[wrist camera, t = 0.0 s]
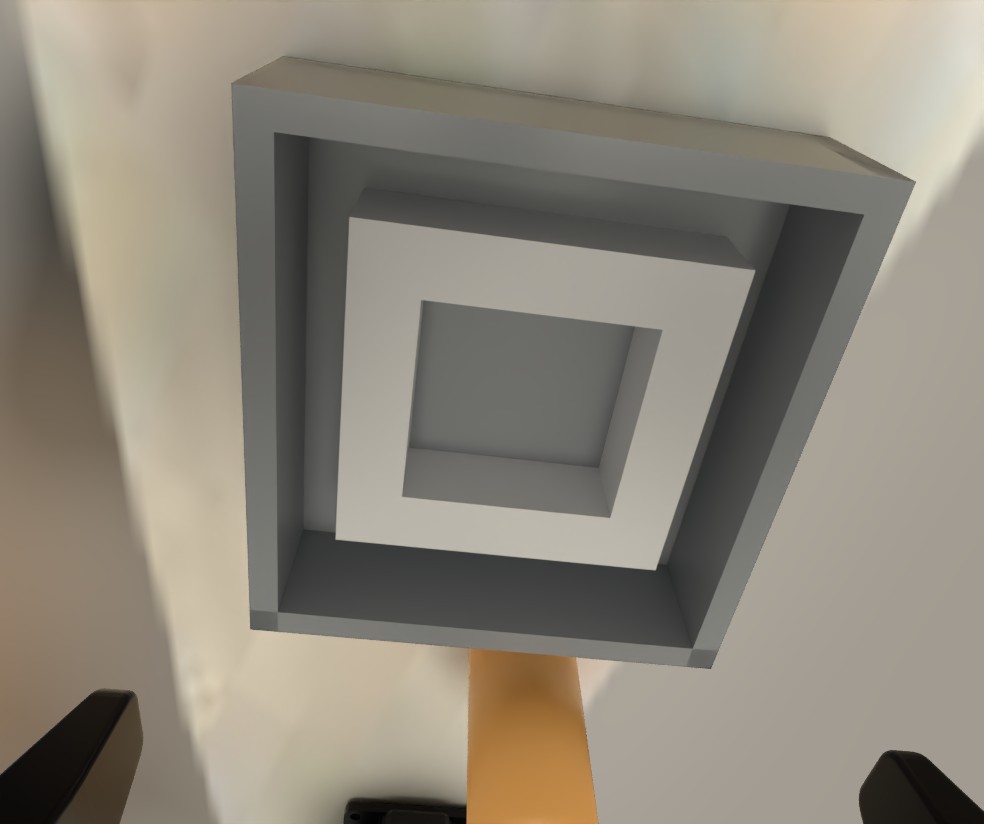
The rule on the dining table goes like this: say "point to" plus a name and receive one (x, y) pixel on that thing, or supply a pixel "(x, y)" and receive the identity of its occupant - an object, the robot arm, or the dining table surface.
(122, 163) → the dining table surface
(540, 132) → the inlet box
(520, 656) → the plug
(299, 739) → the dining table surface
